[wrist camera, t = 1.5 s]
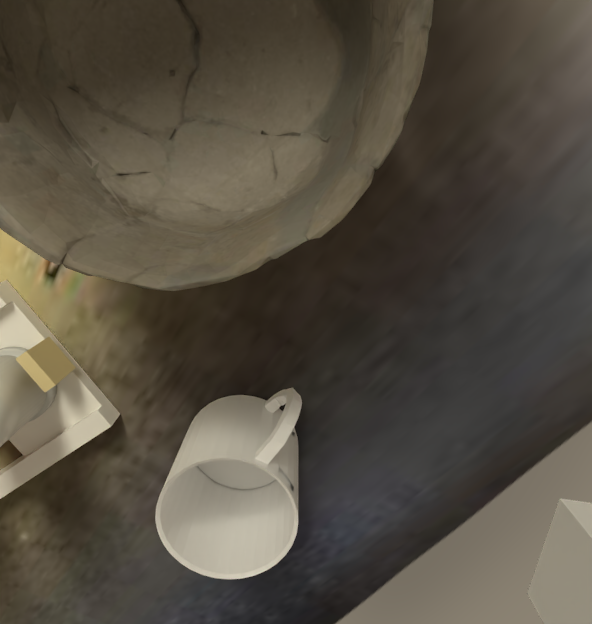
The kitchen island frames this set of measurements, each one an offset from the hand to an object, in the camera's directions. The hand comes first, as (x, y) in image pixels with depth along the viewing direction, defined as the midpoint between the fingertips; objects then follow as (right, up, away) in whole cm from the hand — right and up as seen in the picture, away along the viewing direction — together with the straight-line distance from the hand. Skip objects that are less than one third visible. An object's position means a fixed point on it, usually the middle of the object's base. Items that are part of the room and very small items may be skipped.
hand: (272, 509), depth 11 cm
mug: (-3, -5, +29) cm, 29 cm away
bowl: (-5, +20, +22) cm, 30 cm away
